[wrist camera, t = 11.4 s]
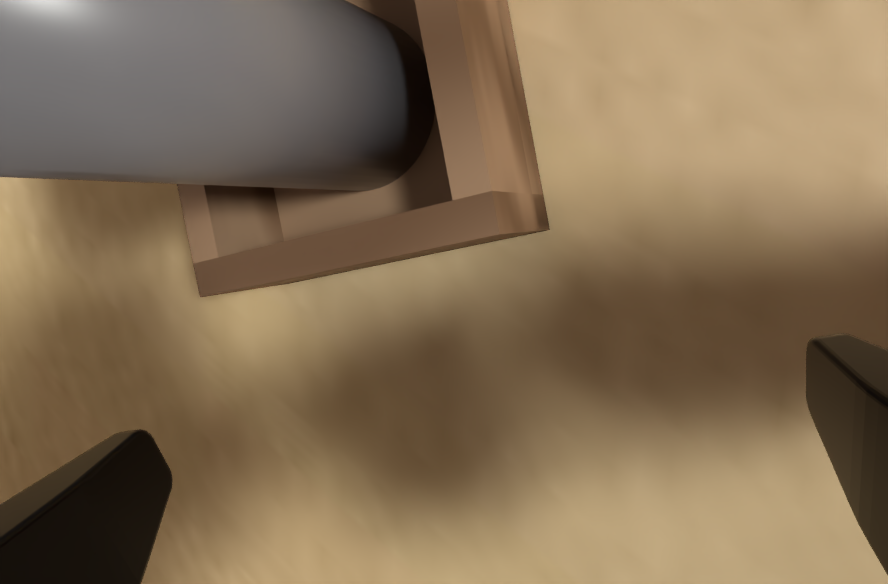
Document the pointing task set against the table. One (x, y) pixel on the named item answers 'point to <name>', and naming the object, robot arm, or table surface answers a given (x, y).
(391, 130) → the charcoal canister
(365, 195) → the walnut socket
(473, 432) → the table surface
